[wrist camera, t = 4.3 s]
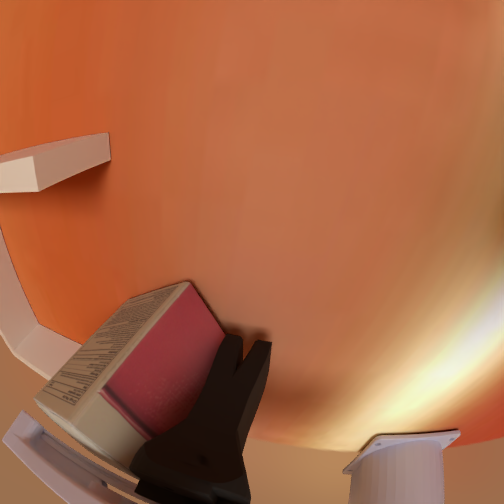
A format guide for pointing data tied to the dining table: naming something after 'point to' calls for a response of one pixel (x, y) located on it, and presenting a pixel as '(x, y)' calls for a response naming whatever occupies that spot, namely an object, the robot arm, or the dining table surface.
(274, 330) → the dining table surface
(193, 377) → the small box
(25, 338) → the u-shaped bracket
